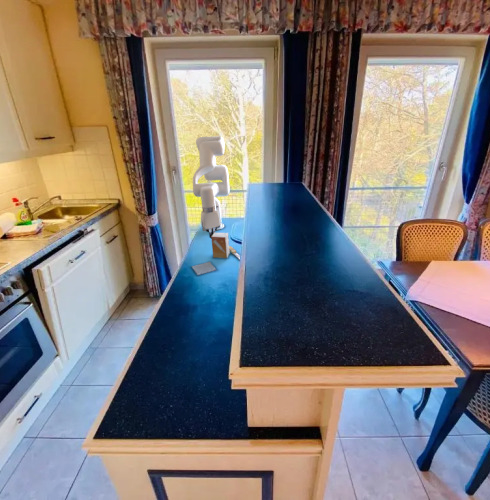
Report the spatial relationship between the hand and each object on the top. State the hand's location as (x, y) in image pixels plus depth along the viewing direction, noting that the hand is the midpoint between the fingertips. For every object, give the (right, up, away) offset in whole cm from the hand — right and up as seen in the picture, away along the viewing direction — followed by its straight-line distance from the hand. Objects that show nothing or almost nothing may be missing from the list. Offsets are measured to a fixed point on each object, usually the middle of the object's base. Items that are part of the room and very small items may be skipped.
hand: (212, 238), depth 165 cm
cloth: (-1, -17, -20) cm, 26 cm away
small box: (+6, -10, -7) cm, 14 cm away
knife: (+14, -9, -5) cm, 17 cm away
